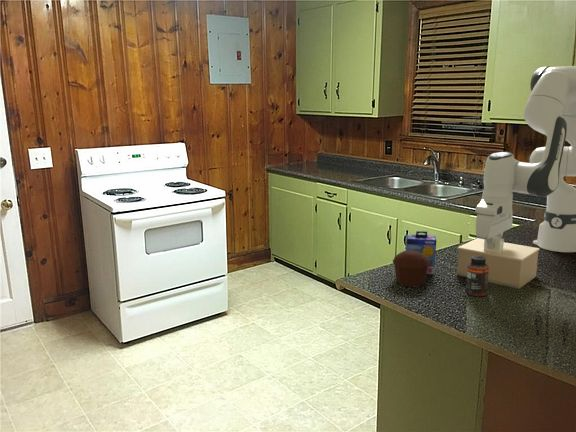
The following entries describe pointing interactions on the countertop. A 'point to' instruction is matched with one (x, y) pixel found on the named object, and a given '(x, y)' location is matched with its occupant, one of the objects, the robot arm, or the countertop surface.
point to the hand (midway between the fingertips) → (493, 247)
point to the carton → (502, 268)
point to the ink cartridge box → (423, 247)
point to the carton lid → (500, 249)
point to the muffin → (411, 268)
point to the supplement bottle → (477, 276)
